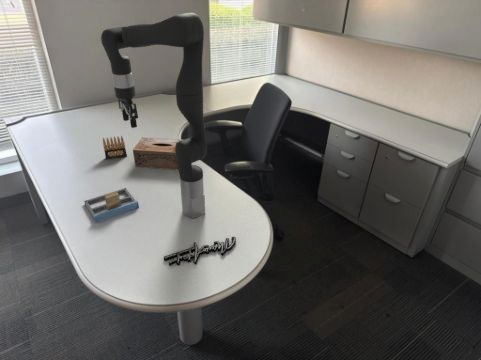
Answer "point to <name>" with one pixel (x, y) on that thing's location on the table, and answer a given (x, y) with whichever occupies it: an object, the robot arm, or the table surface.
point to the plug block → (112, 200)
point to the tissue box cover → (156, 153)
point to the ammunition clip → (114, 148)
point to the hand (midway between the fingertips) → (130, 123)
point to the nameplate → (199, 252)
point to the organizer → (113, 211)
